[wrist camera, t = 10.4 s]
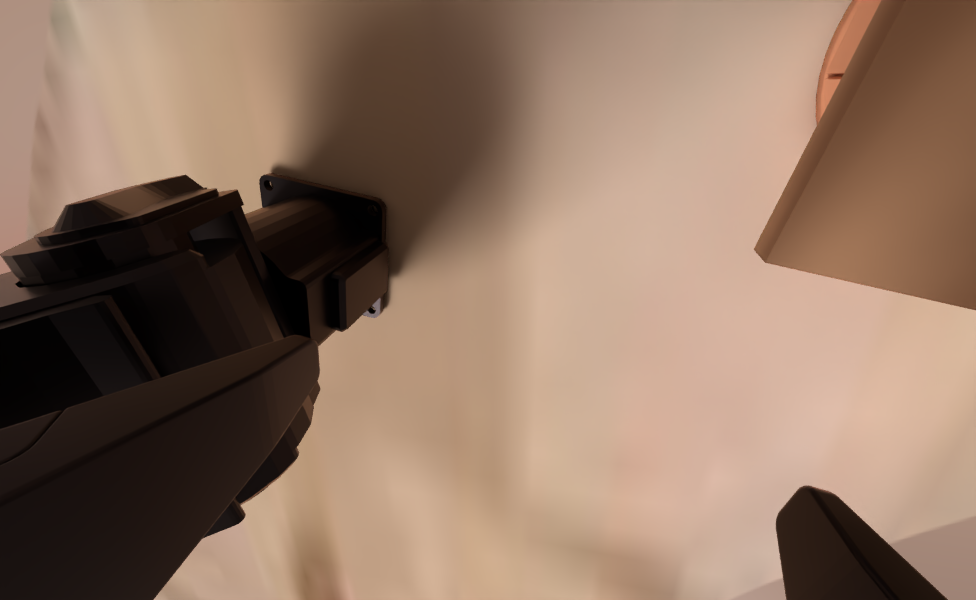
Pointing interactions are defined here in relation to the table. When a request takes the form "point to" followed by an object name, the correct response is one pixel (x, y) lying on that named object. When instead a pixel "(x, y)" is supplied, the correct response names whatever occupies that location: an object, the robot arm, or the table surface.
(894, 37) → the lid
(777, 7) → the table surface
